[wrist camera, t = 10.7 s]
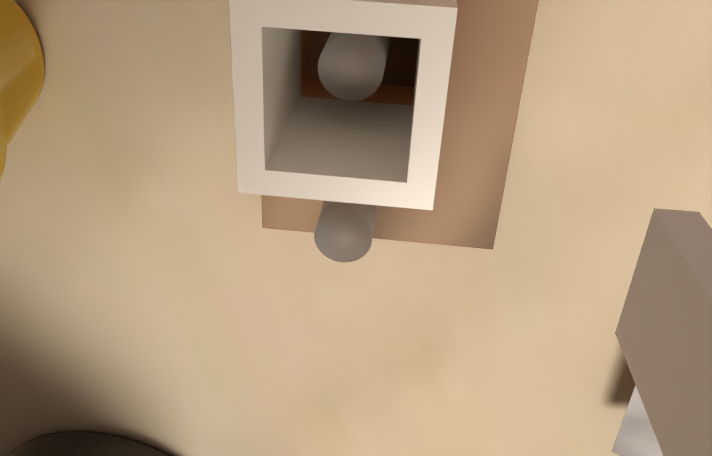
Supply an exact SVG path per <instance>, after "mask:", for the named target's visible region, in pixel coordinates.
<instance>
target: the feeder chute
mask: <svg viewBox="0 0 712 456" xmlns="http://www.w3.org/2000/svg"><path fill="white" fill-rule="evenodd" d="M612 452H613V453H616V454H618V455H620V456H663V454H662V451H661V449H660V446H659V443H658V441H657V438H656V436H655V433H654V431H653V428H652V426H651V423H650V420H649V418H648V415H647V413H646V410H645V408H644V405H643V403H642V400H641V398H640V395H639V392H638V390H637V387H636V385H635V387H634V390H633V393H632V396H631V398H630V401H629V404H628V407H627V410H626V412H625V415H624V418H623V421H622V424H621V426H620V429H619V432H618V435H617V438H616V440H615V443H614V446H613V449H612Z"/></svg>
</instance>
